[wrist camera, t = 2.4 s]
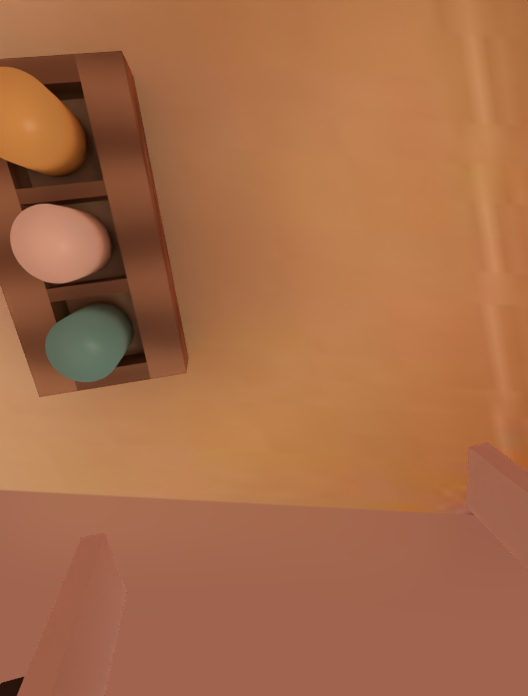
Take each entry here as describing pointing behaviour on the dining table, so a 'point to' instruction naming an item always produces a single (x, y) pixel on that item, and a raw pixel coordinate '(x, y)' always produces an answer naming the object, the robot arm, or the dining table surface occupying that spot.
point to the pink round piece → (60, 243)
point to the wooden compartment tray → (112, 209)
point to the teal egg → (89, 342)
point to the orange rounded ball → (38, 127)
